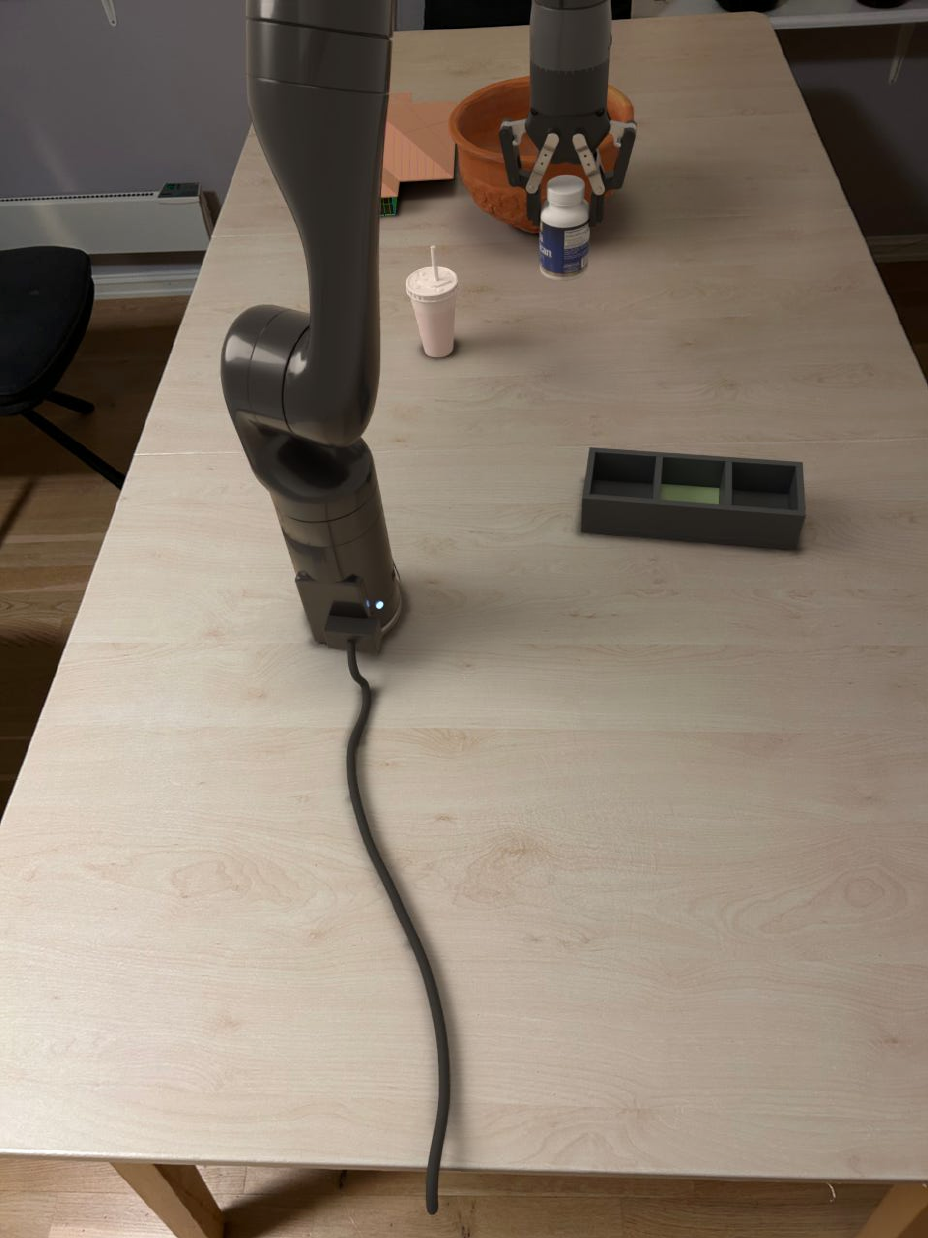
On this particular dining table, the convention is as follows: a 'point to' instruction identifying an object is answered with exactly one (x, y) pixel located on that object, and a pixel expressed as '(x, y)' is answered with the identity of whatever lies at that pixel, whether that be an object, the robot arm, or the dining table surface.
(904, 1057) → the dining table surface
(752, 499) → the rack
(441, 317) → the smoothie
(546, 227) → the pill bottle
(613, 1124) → the dining table surface
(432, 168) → the house
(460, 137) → the bowl
